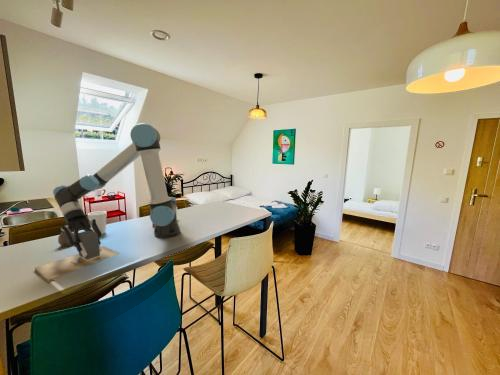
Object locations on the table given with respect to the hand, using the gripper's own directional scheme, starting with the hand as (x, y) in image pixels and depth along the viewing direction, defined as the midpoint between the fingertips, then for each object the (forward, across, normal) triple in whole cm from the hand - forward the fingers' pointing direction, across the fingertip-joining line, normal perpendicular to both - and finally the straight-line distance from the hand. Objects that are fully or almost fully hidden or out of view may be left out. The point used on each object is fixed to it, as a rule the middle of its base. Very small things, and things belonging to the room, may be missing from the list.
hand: (93, 253), depth 96 cm
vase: (-20, -1, -25) cm, 32 cm away
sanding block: (-1, 0, -4) cm, 5 cm away
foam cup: (-24, -19, -29) cm, 42 cm away
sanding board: (0, +4, -5) cm, 6 cm away
